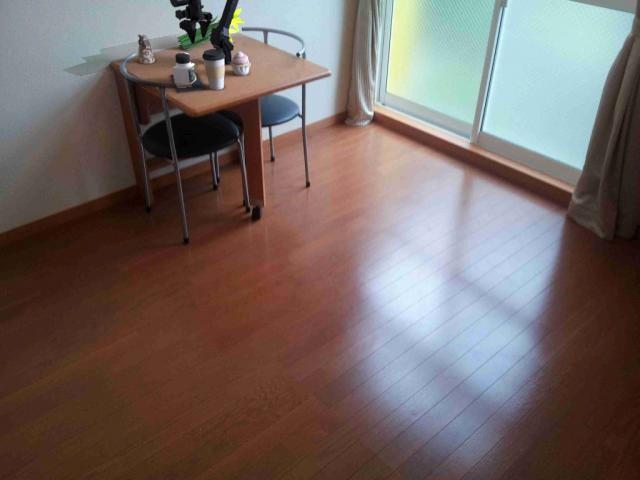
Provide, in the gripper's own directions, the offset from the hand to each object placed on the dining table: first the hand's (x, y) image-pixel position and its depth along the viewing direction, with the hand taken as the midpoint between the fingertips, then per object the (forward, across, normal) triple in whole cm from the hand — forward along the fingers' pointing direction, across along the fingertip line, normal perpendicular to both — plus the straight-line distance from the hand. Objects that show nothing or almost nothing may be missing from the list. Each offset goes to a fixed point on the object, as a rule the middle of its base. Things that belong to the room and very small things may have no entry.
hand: (198, 40), depth 251 cm
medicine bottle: (+13, +17, +2) cm, 21 cm away
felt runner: (+13, +16, +2) cm, 21 cm away
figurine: (+13, 0, -28) cm, 31 cm away
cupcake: (+13, -3, +19) cm, 23 cm away
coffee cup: (+13, +16, +16) cm, 27 cm away
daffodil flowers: (+13, -32, -12) cm, 36 cm away
